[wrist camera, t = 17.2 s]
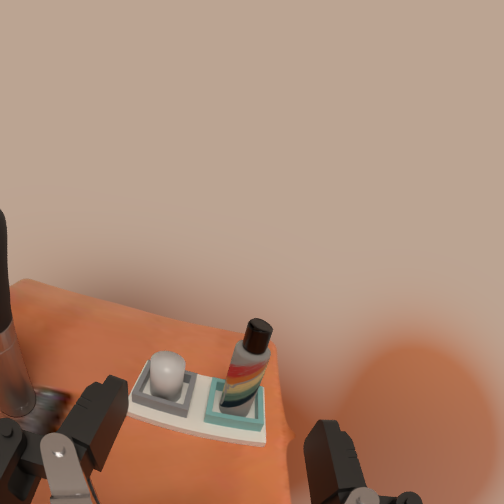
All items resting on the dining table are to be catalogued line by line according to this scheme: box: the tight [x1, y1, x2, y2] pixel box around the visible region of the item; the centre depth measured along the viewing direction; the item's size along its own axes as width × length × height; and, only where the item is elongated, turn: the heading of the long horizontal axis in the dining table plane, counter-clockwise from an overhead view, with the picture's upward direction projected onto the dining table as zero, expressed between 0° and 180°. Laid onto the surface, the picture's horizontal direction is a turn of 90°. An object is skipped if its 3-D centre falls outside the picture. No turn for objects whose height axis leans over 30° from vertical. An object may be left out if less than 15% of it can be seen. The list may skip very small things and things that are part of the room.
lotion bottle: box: [219, 318, 273, 417], centre depth 41 cm, size 6×6×20 cm
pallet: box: [126, 351, 266, 447], centre depth 43 cm, size 25×15×10 cm, turn 90°
